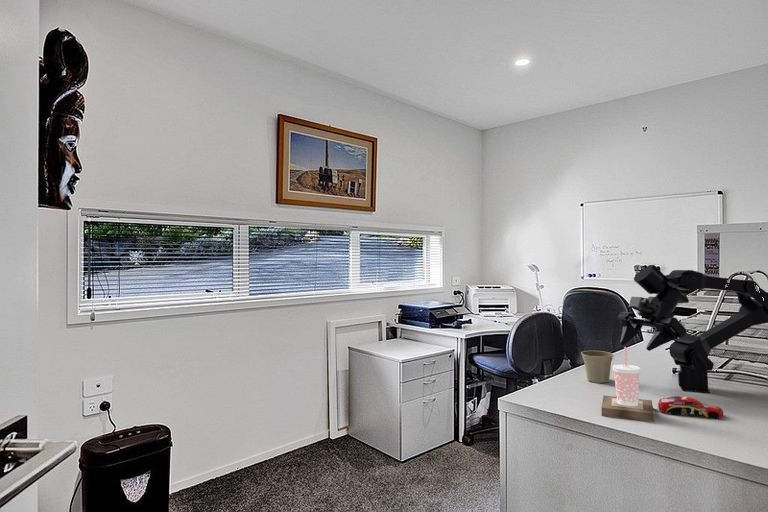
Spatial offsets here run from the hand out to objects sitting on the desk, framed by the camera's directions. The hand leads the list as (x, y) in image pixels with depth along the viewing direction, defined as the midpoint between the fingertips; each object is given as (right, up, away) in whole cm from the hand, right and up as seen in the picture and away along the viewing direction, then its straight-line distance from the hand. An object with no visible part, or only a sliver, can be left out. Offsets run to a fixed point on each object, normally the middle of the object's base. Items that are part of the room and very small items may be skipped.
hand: (634, 346), depth 125 cm
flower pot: (-3, -14, +15) cm, 21 cm away
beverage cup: (-9, -11, -14) cm, 20 cm away
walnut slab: (-10, -13, -14) cm, 22 cm away
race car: (+4, -13, -17) cm, 22 cm away
